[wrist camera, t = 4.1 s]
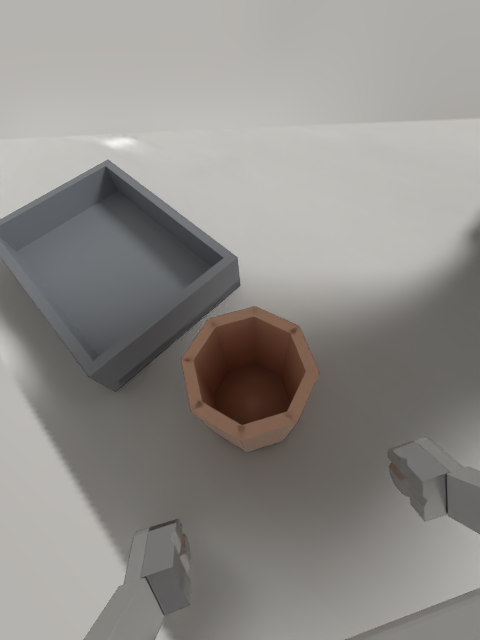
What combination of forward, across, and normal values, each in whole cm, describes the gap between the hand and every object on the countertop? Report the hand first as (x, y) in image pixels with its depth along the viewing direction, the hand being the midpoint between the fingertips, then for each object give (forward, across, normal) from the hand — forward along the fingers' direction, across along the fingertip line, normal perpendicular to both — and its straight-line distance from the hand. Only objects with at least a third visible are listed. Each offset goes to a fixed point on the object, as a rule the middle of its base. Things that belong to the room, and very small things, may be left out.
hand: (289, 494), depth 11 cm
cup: (+11, 0, +3) cm, 11 cm away
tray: (+22, +9, -8) cm, 25 cm away
